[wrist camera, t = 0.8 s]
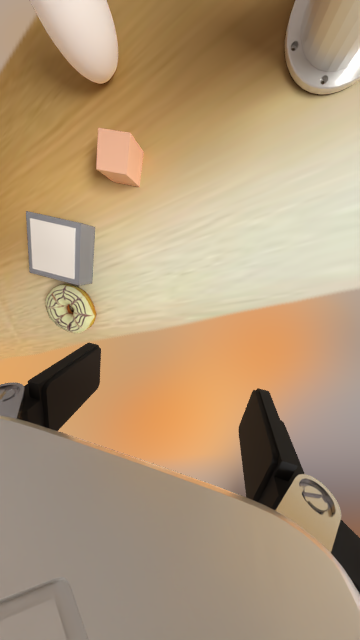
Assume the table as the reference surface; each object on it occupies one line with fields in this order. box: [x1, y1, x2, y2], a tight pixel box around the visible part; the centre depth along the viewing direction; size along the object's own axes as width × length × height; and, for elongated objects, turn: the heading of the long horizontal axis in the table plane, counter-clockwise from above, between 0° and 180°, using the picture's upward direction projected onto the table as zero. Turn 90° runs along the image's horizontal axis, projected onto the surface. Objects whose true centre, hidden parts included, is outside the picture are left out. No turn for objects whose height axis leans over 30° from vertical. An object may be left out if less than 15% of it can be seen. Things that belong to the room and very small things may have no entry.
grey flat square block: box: [26, 211, 95, 285], centre depth 36 cm, size 11×11×4 cm
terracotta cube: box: [96, 128, 144, 187], centre depth 30 cm, size 5×5×5 cm
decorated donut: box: [46, 284, 96, 333], centre depth 41 cm, size 10×11×4 cm
